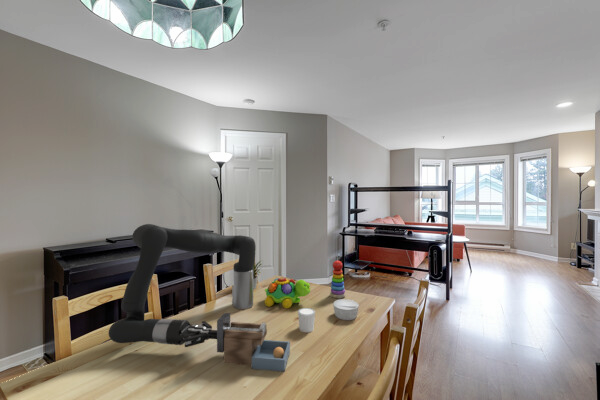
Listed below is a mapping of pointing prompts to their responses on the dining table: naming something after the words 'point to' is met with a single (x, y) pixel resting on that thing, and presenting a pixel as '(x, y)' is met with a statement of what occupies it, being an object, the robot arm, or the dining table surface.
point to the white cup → (306, 319)
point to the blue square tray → (270, 356)
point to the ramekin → (346, 309)
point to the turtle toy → (286, 292)
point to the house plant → (255, 274)
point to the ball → (278, 352)
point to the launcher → (242, 343)
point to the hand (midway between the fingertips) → (220, 334)
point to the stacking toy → (337, 281)
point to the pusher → (224, 324)
